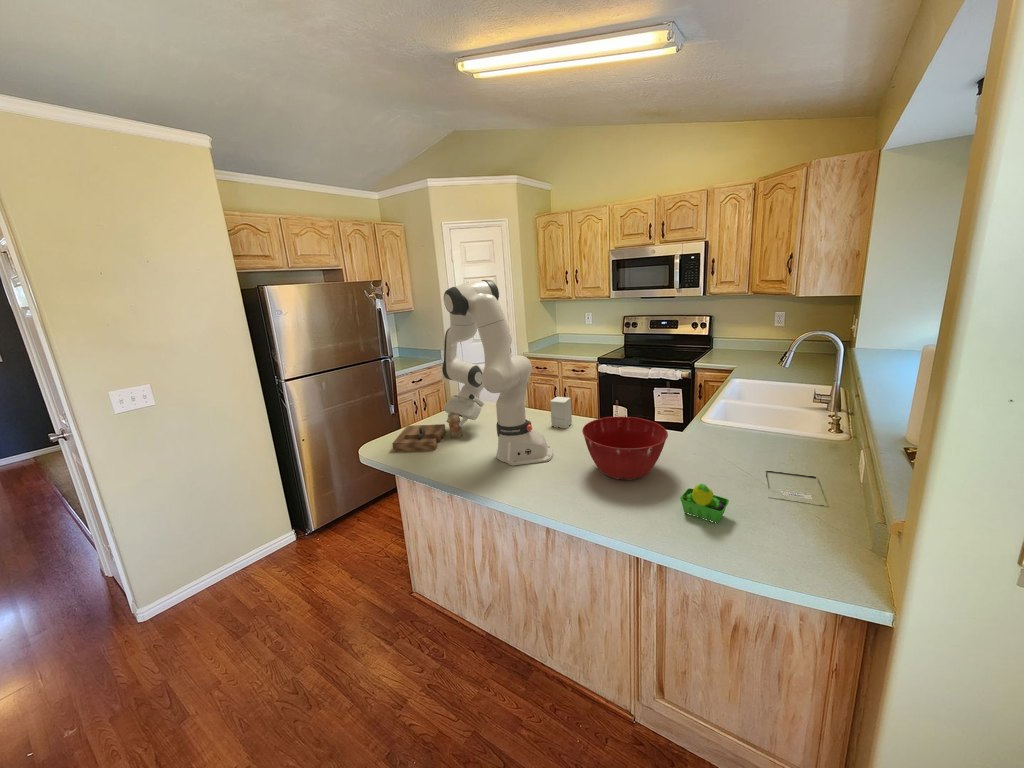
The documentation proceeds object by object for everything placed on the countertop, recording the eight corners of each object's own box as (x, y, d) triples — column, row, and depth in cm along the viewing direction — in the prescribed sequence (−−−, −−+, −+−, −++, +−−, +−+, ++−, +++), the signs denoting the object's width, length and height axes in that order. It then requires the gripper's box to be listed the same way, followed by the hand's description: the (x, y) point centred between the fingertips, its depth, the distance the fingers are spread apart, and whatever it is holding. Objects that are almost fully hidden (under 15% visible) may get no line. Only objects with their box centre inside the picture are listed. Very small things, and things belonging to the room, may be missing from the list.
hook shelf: (445, 432, 196) (443, 416, 194) (435, 450, 177) (432, 432, 175) (408, 433, 198) (405, 417, 196) (393, 452, 179) (390, 434, 177)
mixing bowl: (663, 455, 158) (664, 416, 154) (670, 495, 131) (671, 449, 127) (587, 451, 165) (586, 414, 161) (579, 488, 139) (577, 445, 135)
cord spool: (462, 433, 193) (460, 413, 191) (460, 438, 188) (458, 417, 186) (451, 434, 194) (449, 413, 191) (449, 438, 189) (446, 417, 186)
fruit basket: (728, 515, 119) (731, 479, 116) (719, 530, 113) (721, 493, 110) (687, 502, 127) (689, 468, 124) (676, 516, 121) (677, 481, 118)
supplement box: (572, 423, 195) (571, 397, 192) (565, 429, 189) (564, 402, 186) (558, 421, 199) (556, 396, 196) (551, 426, 193) (549, 400, 190)
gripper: (448, 391, 198) (434, 416, 194) (478, 397, 184) (464, 425, 180) (457, 397, 202) (443, 422, 198) (486, 404, 189) (473, 431, 184)
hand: (453, 424), depth 189 cm, fingers open, 6 cm apart
